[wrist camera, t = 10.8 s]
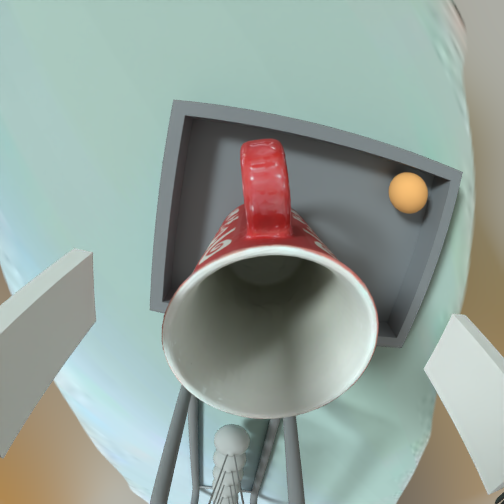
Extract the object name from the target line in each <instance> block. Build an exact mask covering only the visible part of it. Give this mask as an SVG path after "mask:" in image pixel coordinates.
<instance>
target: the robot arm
mask: <svg viewBox="0 0 504 504" xmlns="http://www.w3.org/2000/svg"><path fill="white" fill-rule="evenodd" d="M95 322H96V312H95V298H94V279H93V252H89V251H85V250H80V249H76V248H74V249H72V250H71V251H70V252H68V253H67V254H65V255H64V256H63V257H61V258H60V259H59V260H57V261H56V262H55V263H53V264H52V265H51V266H49V267H48V268H47V269H45V270H44V271H43V272H41V273H40V274H39V275H37V276H36V277H35V278H34V279H32V280H31V281H30V282H28V283H27V284H26V285H25V286H23V287H22V288H21V289H20V290H18V291H17V292H16V293H15V294H14V295H12V296H11V297H10V298H9V299H8V300H6V301H5V302H4V303H3V304H2V305H0V457H1V458H4V457H5V455H6V453H7V451H8V450H9V448H10V446H11V444H12V443H13V441H14V439H15V438H16V436H17V435H18V433H19V431H20V430H21V428H22V427H23V425H24V423H25V422H26V420H27V419H28V417H29V415H30V414H31V412H32V411H33V409H34V408H35V406H36V405H37V403H38V402H39V400H40V399H41V397H42V396H43V394H44V393H45V391H46V390H47V388H48V387H49V385H50V384H51V382H52V381H53V379H54V378H55V377H56V375H57V374H58V372H59V371H60V369H61V368H62V367H63V365H64V364H65V362H66V361H67V360H68V358H69V357H70V355H71V354H72V353H73V351H74V350H75V349H76V347H77V346H78V344H79V343H80V342H81V340H82V339H83V338H84V336H85V335H86V334H87V332H88V331H89V330H90V328H91V327H92V326H93V324H94V323H95ZM424 371H425V372H426V374H427V376H428V378H429V379H430V381H431V383H432V384H433V386H434V388H435V390H436V392H437V393H438V395H439V397H440V399H441V400H442V402H443V404H444V406H445V408H446V410H447V411H448V413H449V415H450V417H451V419H452V420H453V422H454V424H455V426H456V428H457V430H458V432H459V434H460V436H461V438H462V440H463V442H464V444H465V446H466V448H467V450H468V452H469V454H470V456H471V458H472V460H473V462H474V464H475V467H476V468H477V470H478V473H479V475H480V477H481V479H482V482H483V484H484V486H485V488H486V491H487V493H488V495H489V494H491V493H493V492H495V491H498V490H500V489H502V488H503V487H504V358H503V356H502V355H501V354H500V353H499V352H498V351H497V350H496V348H494V346H493V345H492V344H491V343H490V341H489V340H488V339H487V338H486V337H485V336H484V335H483V334H482V333H481V332H480V330H479V329H478V328H477V327H476V326H475V325H474V324H473V323H472V322H471V321H470V320H469V318H467V316H466V315H461V314H452V316H451V318H450V320H449V322H448V324H447V326H446V328H445V330H444V332H443V334H442V336H441V338H440V340H439V342H438V344H437V346H436V347H435V349H434V351H433V353H432V355H431V357H430V359H429V360H428V362H427V364H426V366H425V367H424ZM503 499H504V493H502V494H501V495H500V496H499V497H498V498H497V500H496V502H495V504H498V503H499V502H500V501H501V500H503ZM501 504H504V501H503V502H502V503H501Z"/></svg>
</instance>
